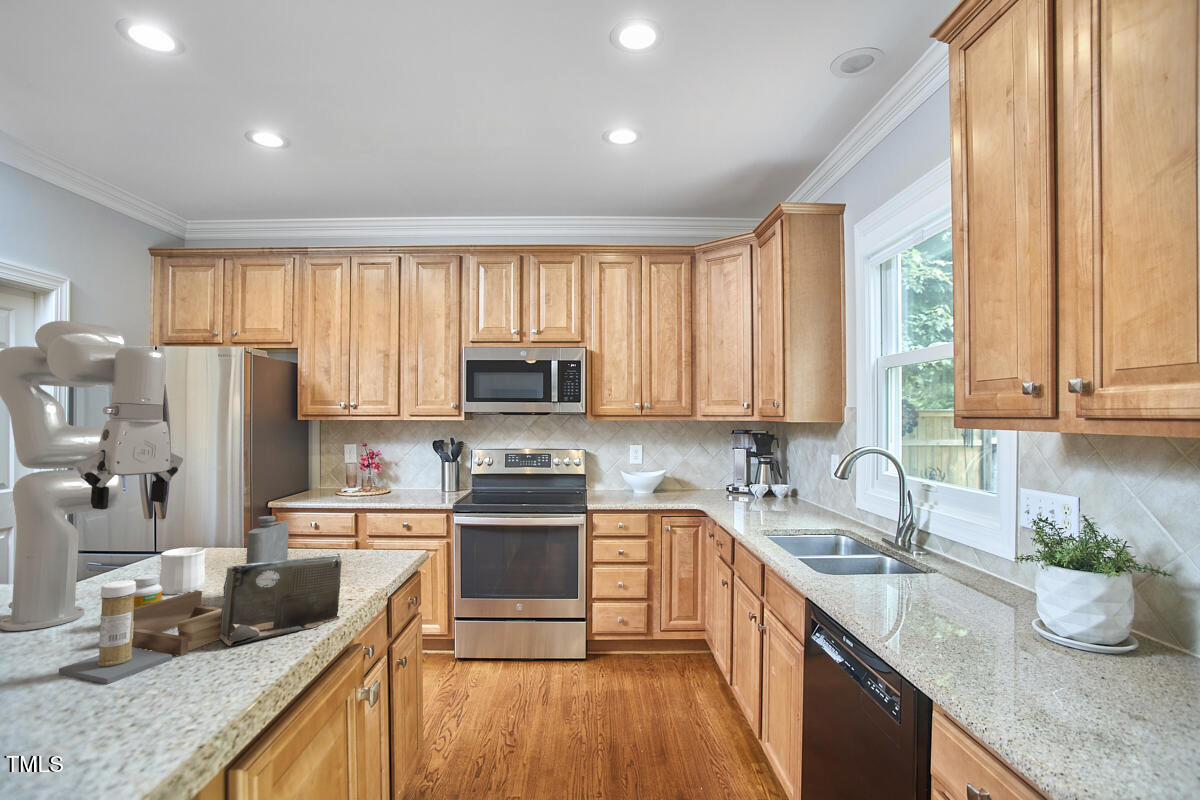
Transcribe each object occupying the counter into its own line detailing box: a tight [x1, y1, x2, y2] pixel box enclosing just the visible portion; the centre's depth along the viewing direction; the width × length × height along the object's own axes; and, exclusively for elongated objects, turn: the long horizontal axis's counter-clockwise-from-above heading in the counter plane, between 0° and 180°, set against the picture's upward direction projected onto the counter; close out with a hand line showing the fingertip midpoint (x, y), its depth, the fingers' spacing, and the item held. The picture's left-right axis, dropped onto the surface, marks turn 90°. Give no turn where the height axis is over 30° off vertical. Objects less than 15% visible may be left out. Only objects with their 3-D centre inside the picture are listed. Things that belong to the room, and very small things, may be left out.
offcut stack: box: [176, 609, 222, 652], centre depth 108 cm, size 4×11×4 cm, turn 162°
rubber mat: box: [58, 647, 173, 685], centre depth 96 cm, size 12×10×1 cm
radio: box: [219, 553, 343, 647], centre depth 115 cm, size 23×9×15 cm, turn 134°
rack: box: [132, 590, 222, 657], centre depth 110 cm, size 17×15×6 cm
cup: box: [158, 546, 207, 595], centre depth 141 cm, size 10×10×10 cm
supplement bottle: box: [133, 573, 163, 608], centre depth 116 cm, size 5×5×10 cm
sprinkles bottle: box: [98, 579, 136, 666], centre depth 96 cm, size 5×5×13 cm
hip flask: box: [245, 515, 290, 565], centre depth 133 cm, size 16×4×20 cm, turn 6°
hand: (130, 505), depth 103 cm, fingers open, 9 cm apart
